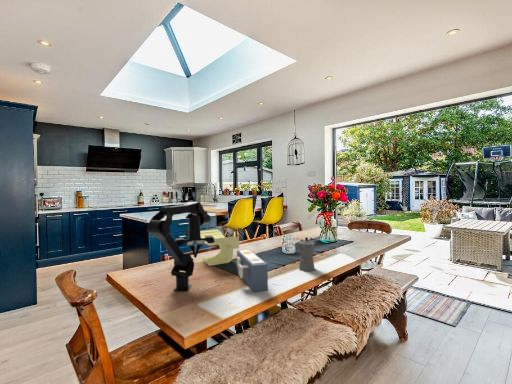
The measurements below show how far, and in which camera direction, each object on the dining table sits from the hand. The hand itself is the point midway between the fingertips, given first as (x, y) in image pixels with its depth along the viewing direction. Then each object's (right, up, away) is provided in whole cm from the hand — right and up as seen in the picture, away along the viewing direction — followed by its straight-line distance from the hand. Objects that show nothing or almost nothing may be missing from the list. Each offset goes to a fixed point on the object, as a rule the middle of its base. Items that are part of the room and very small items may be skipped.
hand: (195, 257), depth 135 cm
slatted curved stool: (+6, -11, +36) cm, 38 cm away
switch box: (+28, -12, +1) cm, 30 cm away
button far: (+24, -7, +7) cm, 26 cm away
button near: (+26, -7, -7) cm, 28 cm away
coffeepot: (+59, -11, +19) cm, 63 cm away
